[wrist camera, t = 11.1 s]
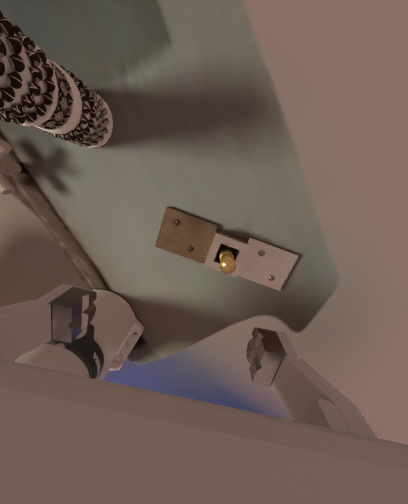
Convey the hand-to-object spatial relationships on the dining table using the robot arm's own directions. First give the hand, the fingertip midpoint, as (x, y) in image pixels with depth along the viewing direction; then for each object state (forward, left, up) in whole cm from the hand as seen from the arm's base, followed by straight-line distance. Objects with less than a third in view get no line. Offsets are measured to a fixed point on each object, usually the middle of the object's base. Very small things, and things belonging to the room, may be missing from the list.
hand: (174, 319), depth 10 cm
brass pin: (-3, -5, -28) cm, 29 cm away
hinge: (-3, -5, -28) cm, 29 cm away
